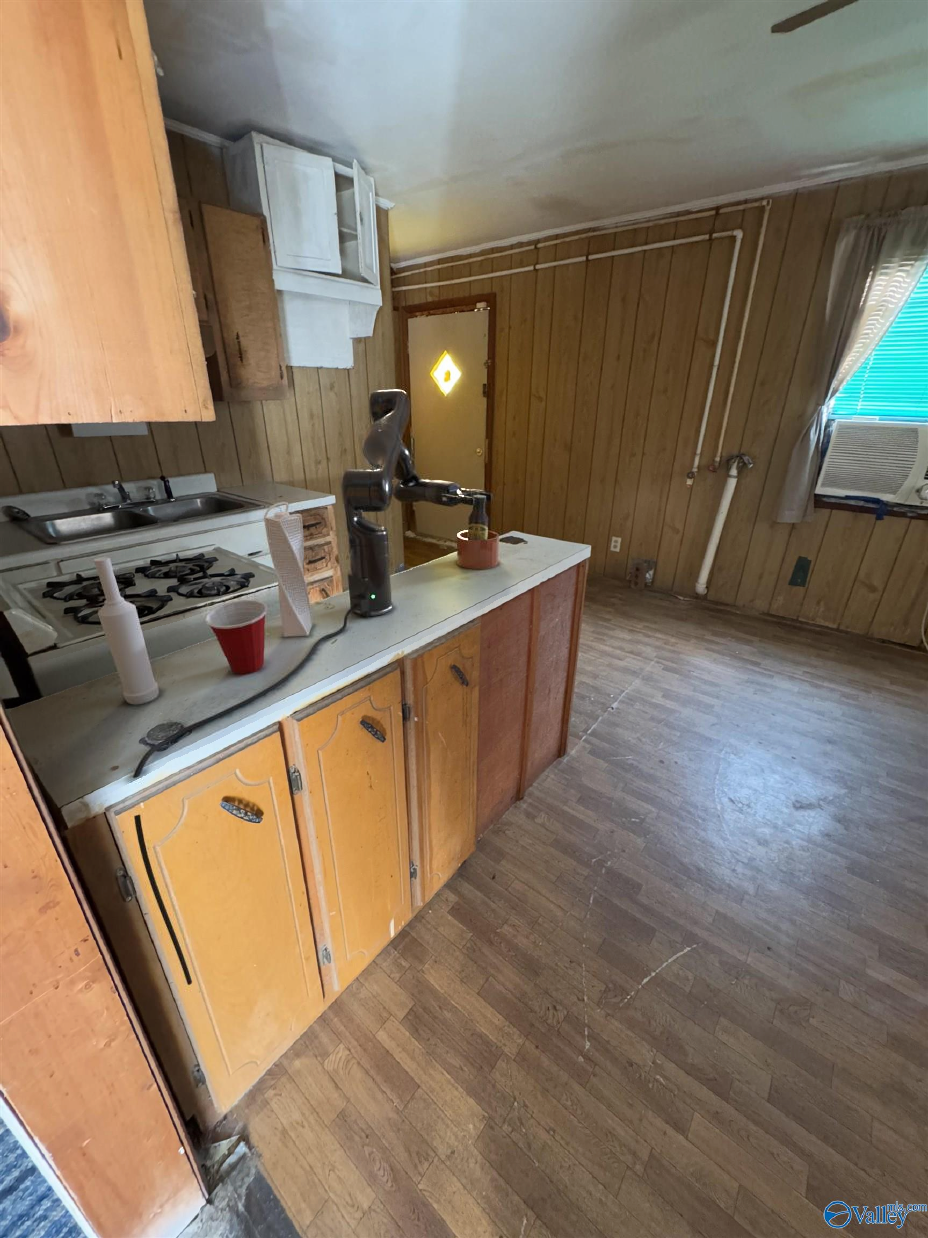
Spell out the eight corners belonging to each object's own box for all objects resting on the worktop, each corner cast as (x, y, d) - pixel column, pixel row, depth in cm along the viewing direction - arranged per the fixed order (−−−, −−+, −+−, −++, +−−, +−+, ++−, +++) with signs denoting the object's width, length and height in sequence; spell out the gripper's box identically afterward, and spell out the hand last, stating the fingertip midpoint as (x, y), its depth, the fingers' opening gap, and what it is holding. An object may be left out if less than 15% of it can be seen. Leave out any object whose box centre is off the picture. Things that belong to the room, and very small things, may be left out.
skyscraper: (285, 623, 115) (267, 501, 104) (318, 622, 116) (303, 500, 105) (277, 639, 108) (256, 509, 97) (313, 637, 109) (296, 508, 97)
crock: (480, 572, 150) (481, 542, 146) (449, 563, 157) (448, 535, 154) (506, 562, 159) (507, 534, 155) (474, 554, 166) (475, 527, 163)
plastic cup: (203, 677, 94) (189, 618, 89) (242, 651, 103) (231, 596, 98) (252, 686, 91) (240, 626, 86) (288, 658, 100) (279, 603, 95)
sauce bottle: (464, 562, 155) (465, 497, 147) (468, 556, 161) (468, 493, 153) (485, 563, 154) (487, 498, 146) (488, 557, 160) (490, 494, 152)
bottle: (123, 708, 84) (77, 565, 74) (128, 692, 89) (85, 556, 78) (158, 701, 86) (118, 561, 76) (161, 686, 90) (124, 552, 80)
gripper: (426, 483, 152) (467, 489, 143) (457, 478, 162) (497, 483, 152) (427, 508, 155) (467, 516, 146) (457, 501, 165) (497, 508, 155)
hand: (482, 499), depth 149 cm, fingers open, 8 cm apart
